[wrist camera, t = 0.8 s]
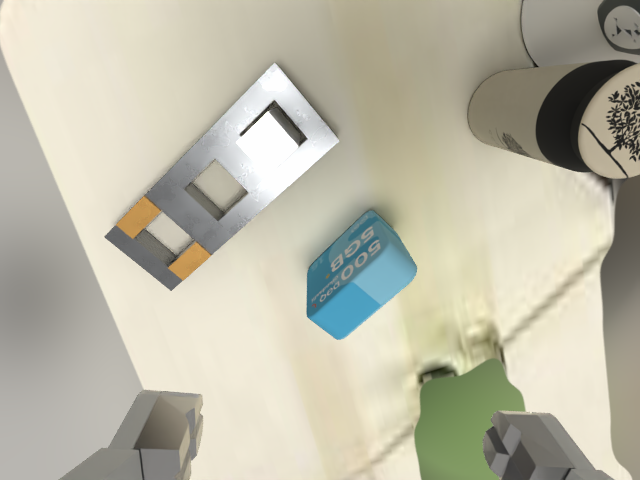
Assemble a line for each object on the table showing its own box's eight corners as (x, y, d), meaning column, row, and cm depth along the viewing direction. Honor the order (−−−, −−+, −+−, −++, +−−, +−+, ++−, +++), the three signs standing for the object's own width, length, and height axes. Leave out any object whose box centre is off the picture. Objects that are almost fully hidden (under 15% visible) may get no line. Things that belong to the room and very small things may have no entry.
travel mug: (515, 53, 37) (679, 24, 21) (549, 112, 40) (720, 127, 23) (453, 106, 39) (557, 118, 23) (489, 159, 42) (607, 204, 25)
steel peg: (276, 106, 39) (267, 111, 31) (300, 134, 40) (298, 146, 32) (251, 131, 40) (236, 142, 32) (275, 158, 41) (267, 175, 33)
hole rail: (277, 64, 37) (274, 62, 34) (337, 137, 40) (339, 141, 37) (117, 227, 44) (103, 237, 41) (179, 279, 47) (170, 291, 44)
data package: (370, 206, 44) (391, 245, 33) (394, 228, 45) (422, 274, 34) (306, 268, 47) (305, 323, 36) (330, 287, 48) (336, 346, 37)
